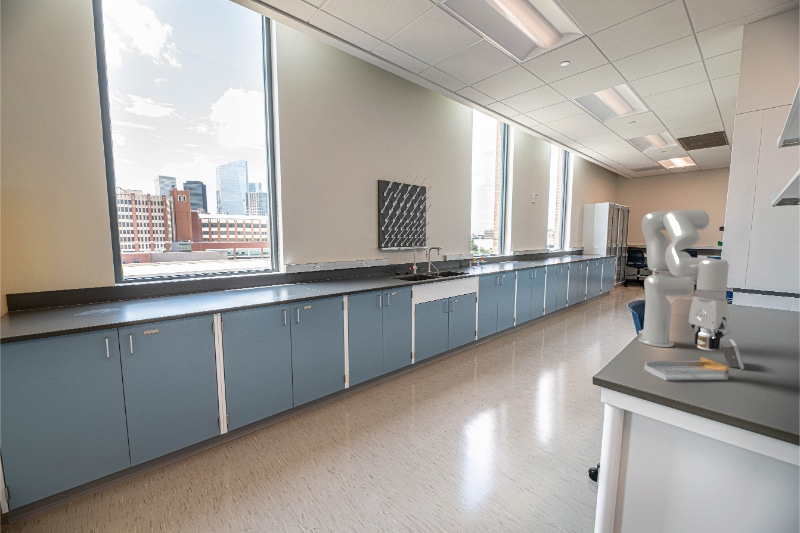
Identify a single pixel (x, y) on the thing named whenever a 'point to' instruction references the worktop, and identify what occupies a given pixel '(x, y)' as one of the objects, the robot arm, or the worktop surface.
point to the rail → (688, 370)
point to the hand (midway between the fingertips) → (706, 345)
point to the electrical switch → (732, 354)
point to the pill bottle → (704, 339)
